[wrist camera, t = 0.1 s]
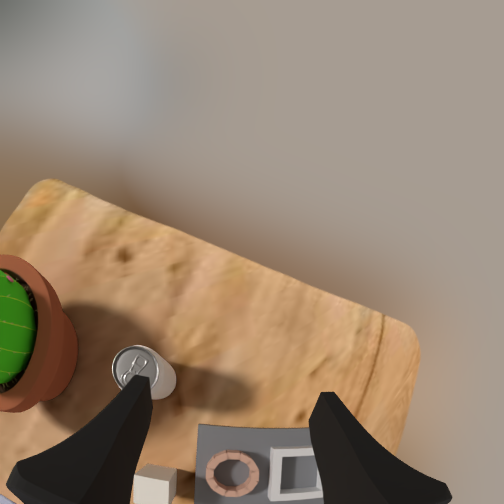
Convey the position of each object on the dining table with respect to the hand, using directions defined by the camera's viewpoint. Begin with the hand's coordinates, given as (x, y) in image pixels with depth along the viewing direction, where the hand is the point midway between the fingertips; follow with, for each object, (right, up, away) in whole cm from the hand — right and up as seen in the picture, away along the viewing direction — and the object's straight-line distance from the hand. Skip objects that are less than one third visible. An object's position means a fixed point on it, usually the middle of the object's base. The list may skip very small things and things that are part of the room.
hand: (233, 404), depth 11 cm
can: (-14, -13, +28) cm, 34 cm away
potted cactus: (-35, -10, +27) cm, 45 cm away
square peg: (-12, -27, +20) cm, 36 cm away
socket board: (+3, -25, +23) cm, 34 cm away
